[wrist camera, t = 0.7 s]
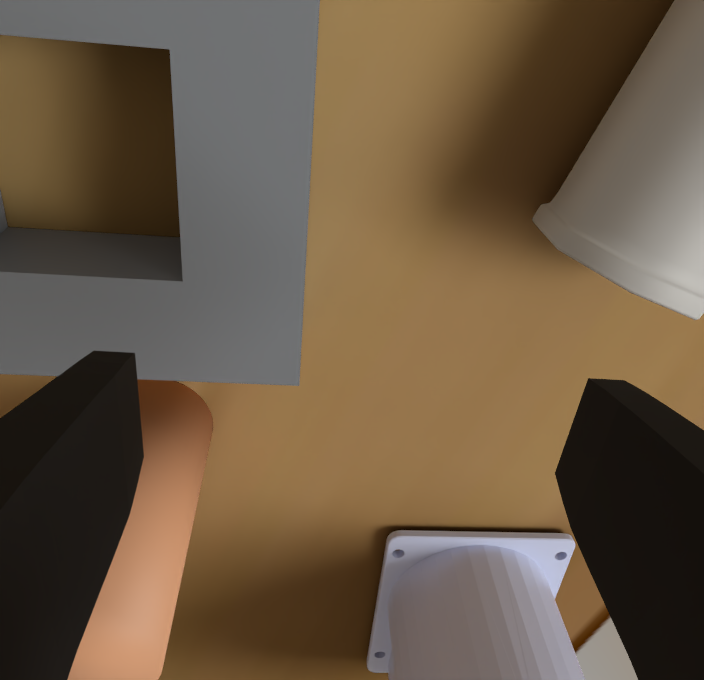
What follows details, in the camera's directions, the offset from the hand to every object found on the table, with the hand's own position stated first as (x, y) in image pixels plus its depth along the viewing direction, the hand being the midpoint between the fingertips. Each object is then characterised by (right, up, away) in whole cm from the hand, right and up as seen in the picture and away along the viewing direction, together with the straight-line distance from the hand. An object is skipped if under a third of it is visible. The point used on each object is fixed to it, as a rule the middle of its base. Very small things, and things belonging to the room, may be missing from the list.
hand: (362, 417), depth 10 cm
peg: (-7, -2, +13) cm, 14 cm away
